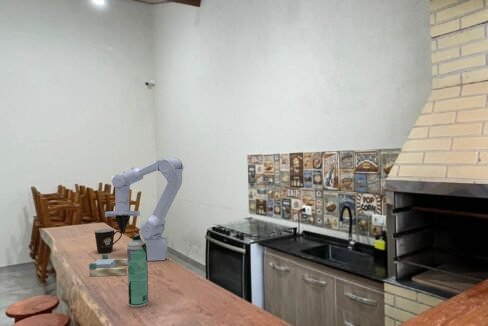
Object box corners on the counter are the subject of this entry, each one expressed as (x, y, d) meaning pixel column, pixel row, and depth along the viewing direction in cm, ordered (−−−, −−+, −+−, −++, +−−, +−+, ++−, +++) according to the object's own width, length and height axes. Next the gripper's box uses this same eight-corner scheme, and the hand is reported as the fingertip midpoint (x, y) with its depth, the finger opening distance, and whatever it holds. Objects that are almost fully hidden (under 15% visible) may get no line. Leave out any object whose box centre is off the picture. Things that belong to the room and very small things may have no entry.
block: (116, 267, 140) (115, 258, 140) (110, 273, 133) (110, 263, 133) (97, 268, 139) (97, 259, 139) (91, 274, 132) (91, 264, 132)
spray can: (150, 299, 105) (148, 232, 105) (146, 307, 100) (144, 236, 100) (131, 300, 105) (130, 233, 105) (126, 308, 100) (124, 237, 100)
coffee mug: (93, 255, 158) (93, 233, 158) (96, 250, 167) (95, 229, 166) (121, 252, 161) (120, 230, 161) (122, 248, 170) (121, 227, 170)
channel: (136, 264, 142) (135, 253, 142) (125, 275, 129) (125, 263, 129) (103, 265, 142) (103, 254, 142) (89, 276, 128) (89, 264, 128)
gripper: (141, 200, 159) (141, 230, 159) (108, 200, 159) (109, 231, 159) (137, 202, 152) (137, 233, 152) (103, 202, 152) (103, 234, 152)
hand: (122, 232), depth 155 cm, fingers closed
